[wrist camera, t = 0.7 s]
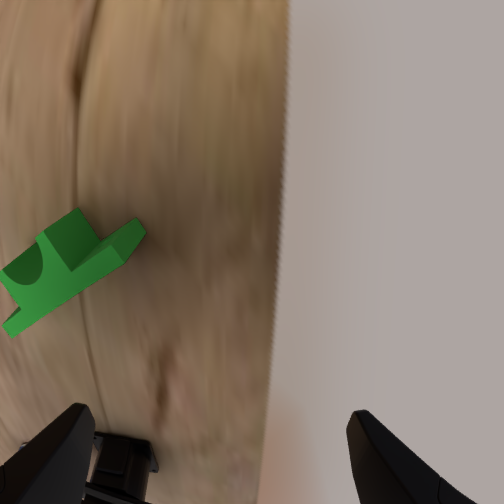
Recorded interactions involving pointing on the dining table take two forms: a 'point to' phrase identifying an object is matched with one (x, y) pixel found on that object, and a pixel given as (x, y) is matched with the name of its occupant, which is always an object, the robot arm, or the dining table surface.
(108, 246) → the pipe clamp
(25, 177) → the dining table surface
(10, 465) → the robot arm
